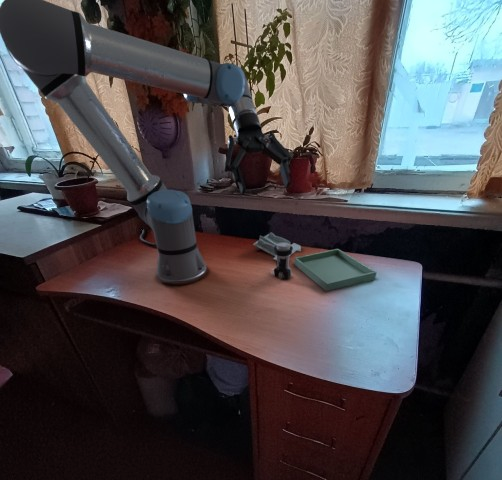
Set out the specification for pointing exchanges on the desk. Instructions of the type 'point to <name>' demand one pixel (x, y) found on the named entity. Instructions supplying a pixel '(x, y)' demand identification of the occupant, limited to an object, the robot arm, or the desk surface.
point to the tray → (334, 269)
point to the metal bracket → (273, 244)
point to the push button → (282, 260)
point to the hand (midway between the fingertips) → (266, 188)
